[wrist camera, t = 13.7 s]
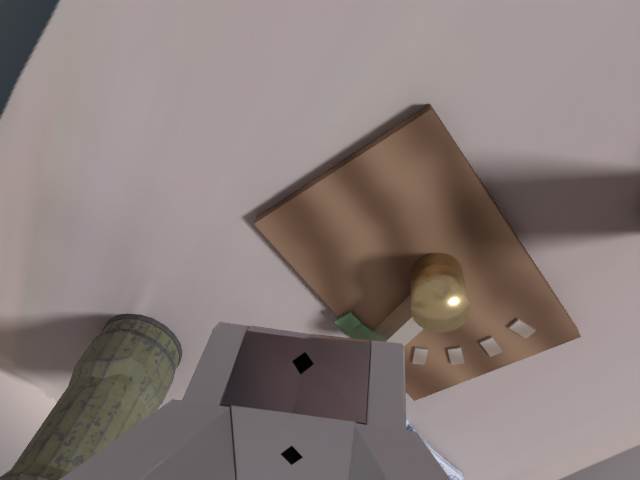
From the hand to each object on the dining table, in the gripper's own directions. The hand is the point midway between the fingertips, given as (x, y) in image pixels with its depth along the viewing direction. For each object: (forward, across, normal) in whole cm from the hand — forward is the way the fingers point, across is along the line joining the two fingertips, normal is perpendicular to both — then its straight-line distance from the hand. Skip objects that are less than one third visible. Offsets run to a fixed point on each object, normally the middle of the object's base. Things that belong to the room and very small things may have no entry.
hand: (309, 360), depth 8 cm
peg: (+30, -5, +22) cm, 38 cm away
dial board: (+31, -6, +20) cm, 38 cm away
